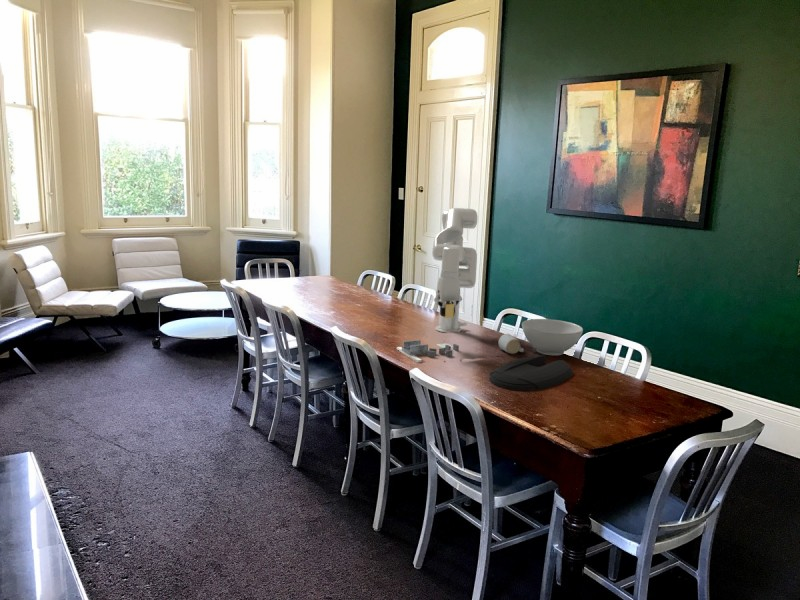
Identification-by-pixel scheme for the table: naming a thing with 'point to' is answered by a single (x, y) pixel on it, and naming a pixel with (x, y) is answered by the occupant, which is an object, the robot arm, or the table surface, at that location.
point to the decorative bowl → (551, 335)
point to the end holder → (414, 347)
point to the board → (434, 351)
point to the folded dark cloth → (530, 374)
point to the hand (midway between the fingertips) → (447, 315)
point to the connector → (449, 310)
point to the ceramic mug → (509, 344)
